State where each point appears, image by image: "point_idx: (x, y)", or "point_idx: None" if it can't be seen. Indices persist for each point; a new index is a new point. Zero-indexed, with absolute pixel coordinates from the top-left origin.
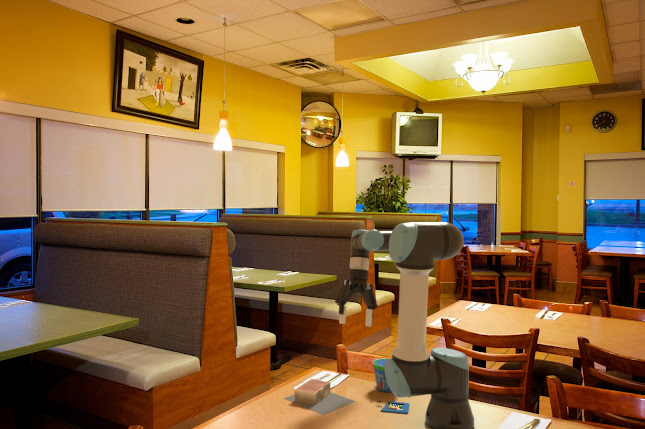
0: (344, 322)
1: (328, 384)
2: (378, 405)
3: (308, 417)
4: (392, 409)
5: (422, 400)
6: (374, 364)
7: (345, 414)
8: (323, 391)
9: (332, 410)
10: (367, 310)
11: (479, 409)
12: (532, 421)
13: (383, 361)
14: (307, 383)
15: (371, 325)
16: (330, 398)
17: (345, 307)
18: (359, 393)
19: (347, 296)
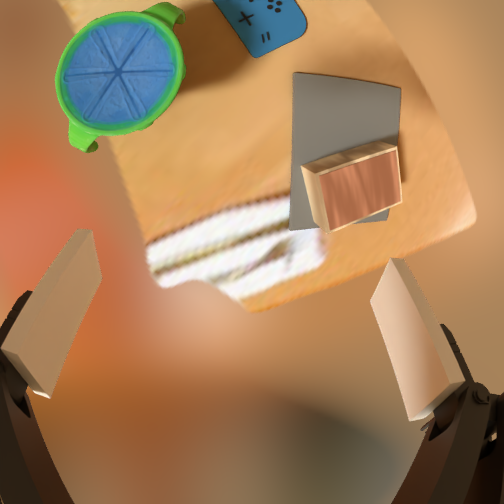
0: (402, 265)
1: (324, 169)
2: (272, 7)
3: (414, 113)
4: None
5: None
6: (178, 89)
7: (360, 53)
8: (347, 157)
9: (374, 85)
10: (46, 377)
11: None
12: None
13: (103, 105)
14: (361, 211)
15: (74, 233)
16: (327, 138)
17: (456, 367)
18: (228, 111)
19: (464, 491)
